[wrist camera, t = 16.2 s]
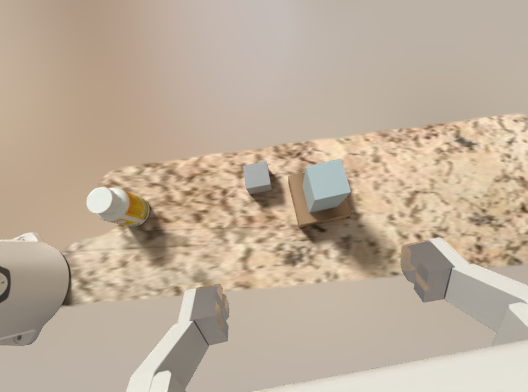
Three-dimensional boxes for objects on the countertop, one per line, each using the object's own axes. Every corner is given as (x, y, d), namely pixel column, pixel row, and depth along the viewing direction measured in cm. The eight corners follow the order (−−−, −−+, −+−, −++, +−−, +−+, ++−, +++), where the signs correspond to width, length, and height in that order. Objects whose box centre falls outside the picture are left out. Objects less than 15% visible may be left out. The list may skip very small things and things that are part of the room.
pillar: (309, 213, 39) (314, 200, 31) (302, 186, 40) (305, 166, 32) (337, 206, 39) (351, 192, 30) (329, 180, 40) (340, 158, 32)
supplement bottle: (133, 233, 46) (93, 226, 36) (117, 211, 47) (74, 200, 38) (156, 212, 46) (123, 200, 37) (139, 191, 47) (103, 175, 38)
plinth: (299, 227, 43) (300, 224, 39) (288, 183, 45) (288, 176, 41) (346, 217, 43) (351, 213, 39) (333, 173, 45) (337, 165, 41)
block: (250, 194, 45) (246, 188, 41) (246, 173, 46) (242, 165, 42) (272, 190, 45) (270, 184, 41) (268, 169, 46) (266, 161, 42)
